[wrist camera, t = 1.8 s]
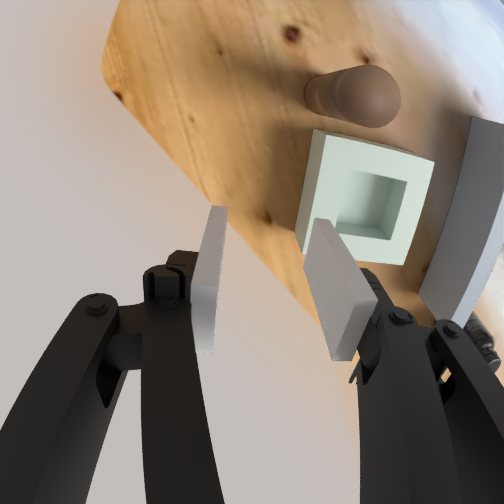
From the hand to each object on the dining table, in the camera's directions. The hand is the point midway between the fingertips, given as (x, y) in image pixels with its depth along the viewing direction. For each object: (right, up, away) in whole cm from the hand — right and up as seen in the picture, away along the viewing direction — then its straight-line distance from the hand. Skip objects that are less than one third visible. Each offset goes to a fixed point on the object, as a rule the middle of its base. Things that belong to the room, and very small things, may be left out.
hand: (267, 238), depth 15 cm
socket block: (+10, +6, +16) cm, 20 cm away
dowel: (+6, +14, +12) cm, 19 cm away
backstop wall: (+24, +4, +17) cm, 30 cm away
